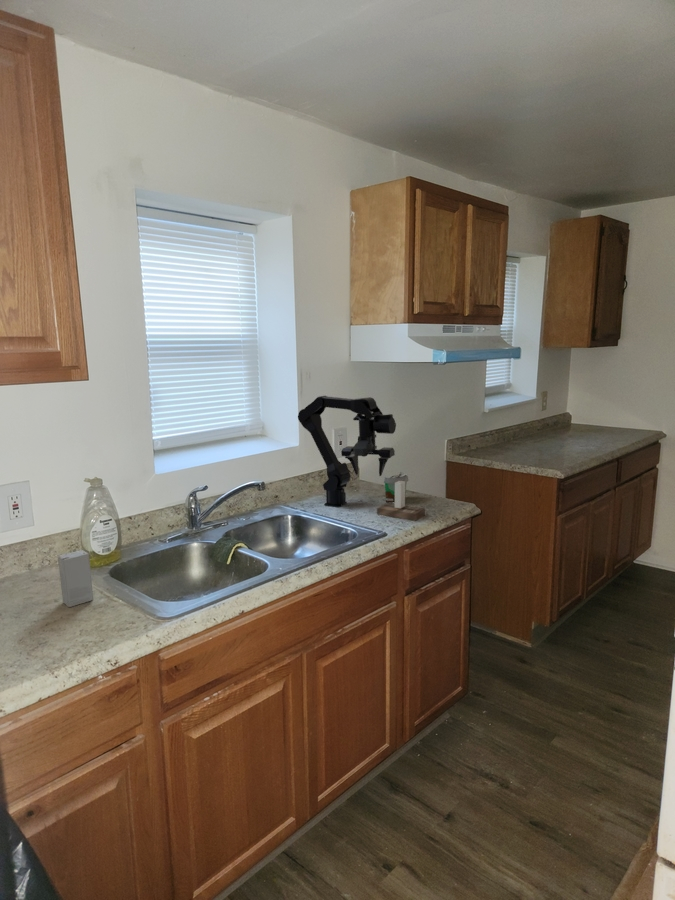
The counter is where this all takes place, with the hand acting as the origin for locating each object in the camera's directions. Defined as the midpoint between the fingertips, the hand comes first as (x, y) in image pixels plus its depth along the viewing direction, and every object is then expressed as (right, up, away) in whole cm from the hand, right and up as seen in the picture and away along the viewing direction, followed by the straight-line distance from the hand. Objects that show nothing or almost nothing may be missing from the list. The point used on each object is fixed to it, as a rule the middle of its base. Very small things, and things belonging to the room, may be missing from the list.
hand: (368, 475), depth 216 cm
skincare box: (-74, -28, -73) cm, 107 cm away
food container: (+13, -11, +14) cm, 22 cm away
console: (+11, -14, -5) cm, 18 cm away
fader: (+11, -11, -5) cm, 16 cm away
